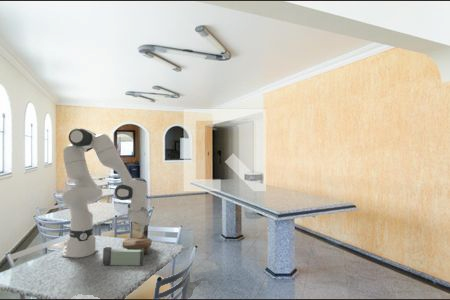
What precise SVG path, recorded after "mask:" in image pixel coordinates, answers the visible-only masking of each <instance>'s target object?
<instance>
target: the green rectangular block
mask: <svg viewBox="0 0 450 300" xmlns="http://www.w3.org/2000/svg"><path fill="white" fill-rule="evenodd" d="M102 252H103V253H102V265H103V266H109V265H110V266H142V265H143V264H144V256H145V254H144V249H139V250H127V249H120V248H119V249H116V248H115V249H112V247H111V246H107V247H103V251H102Z"/></svg>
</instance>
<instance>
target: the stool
mask: <svg viewBox="0 0 450 300" xmlns="http://www.w3.org/2000/svg"><path fill="white" fill-rule="evenodd" d="M152 241H153V240H152V239H151V238H149V237H148V238H143V237H141V238H130V237H128V238H126V239H123V241H122V248H124V250H144V255H148V254H149V248H150V247H151V246H152V243H153V242H152Z"/></svg>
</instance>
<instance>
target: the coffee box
mask: <svg viewBox="0 0 450 300" xmlns="http://www.w3.org/2000/svg"><path fill="white" fill-rule="evenodd" d="M129 230H130V231H129V232H130V233H129V238H132V221H130V229H129ZM148 230H149V225H146V226H145V227H144V236H143V238H149V237H148V234H149V231H148Z"/></svg>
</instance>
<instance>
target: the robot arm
mask: <svg viewBox="0 0 450 300" xmlns="http://www.w3.org/2000/svg"><path fill="white" fill-rule="evenodd" d="M68 140H69V142H70V144H69V145H67V146H65V147H64V148H63V150H62V151H63V152H62V154H63V162H64V167H65V170H66V171H65V172H66V176H67V179H69V180H70V181H71V182H73V183H74V185H75V186H72V187H70V188H67V189H65V190H64V191H63V192H62V196H61V200H62V203H63V204H64V206H66V207H67V208H68V210H69V214H70V218H71V220H70V230H69V237H68V239H67V240H66V241H64V243H63V245H64V246H63V249H62V254H61V257H63V258H64V257H65V258H72V259H73V258H75V259H78V258H84V257H88V256H92V255H93V254H95V253H96V252H98V251H99V248H98V247H96V237H95V236H94V227H93V223H94V221H93V220H94V215H93V213H92V212H91V211H90V210H89V204H92V203H96V202H97V201H100V199H101V198H102V196H103V189H102V188H101V187H100V186H99V185H98V184H97V183H96V182H95V180H94V179H93V177H92V176H91V174H90V171H89V167H88V164H87V160H86V156H85V154H86V153H87V152H89V151H91V150H94V152H95V155H96V156H97V158H98V160H99V162H100V163H101V164H102V166H105V167H107V168H109V169H111V170H113V171H114V172H115V173H116V174H117V175H118V177H119V179H120V180H121V182H122V183H121V184H118V185H117V186H115V187H116V188H115V190H114V195H115V198H117V200H120V201H127V200H131V201H130V203H127V219H128V221H130V222H132V225H133V223H134V222H136V223H138V224H141V228H140V232H144V227H145V226H146V225H148V226H149V225H150V222H151V221H150V220H151V219H150V218H151V217H150V212H149V210H148V198H147V196H148V181H147V180H146V179H144V178H141V177H134V178H133V176H132V174H131V173H130V171H129V170H130V169H128V166H127V165H126V164H125V162H124V161H123V159H122V157H121V156H120V154H119V152H118V149H117V148H116V145H115V144H114V142H113V141H112V139H111V138H110V136H109V135H108V134H106V133H99V134H96V133H95V132H93V131H91V130H90V129H89V130H88V129H84V128H83V127H82V128H81V127H80V128H74V129H72V130H70V132H69V134H68Z"/></svg>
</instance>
